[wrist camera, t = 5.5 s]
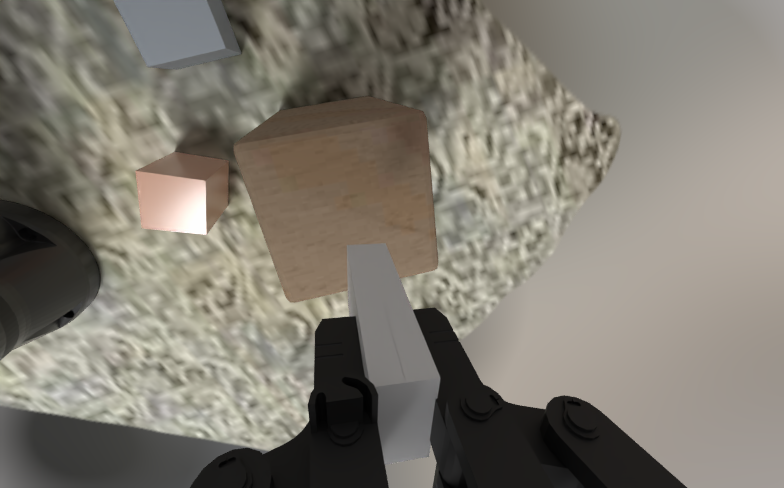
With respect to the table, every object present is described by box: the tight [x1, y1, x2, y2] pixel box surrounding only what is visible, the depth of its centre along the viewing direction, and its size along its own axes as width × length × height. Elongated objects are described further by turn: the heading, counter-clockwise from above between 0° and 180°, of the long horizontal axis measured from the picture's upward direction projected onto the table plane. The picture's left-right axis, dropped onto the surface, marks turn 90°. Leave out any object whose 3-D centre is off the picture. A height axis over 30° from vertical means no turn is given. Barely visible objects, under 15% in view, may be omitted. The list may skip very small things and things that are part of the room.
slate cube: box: [114, 0, 242, 69], centre depth 26 cm, size 6×6×6 cm
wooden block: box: [233, 96, 438, 302], centre depth 27 cm, size 10×10×20 cm
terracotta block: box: [136, 152, 229, 235], centre depth 31 cm, size 5×5×8 cm
